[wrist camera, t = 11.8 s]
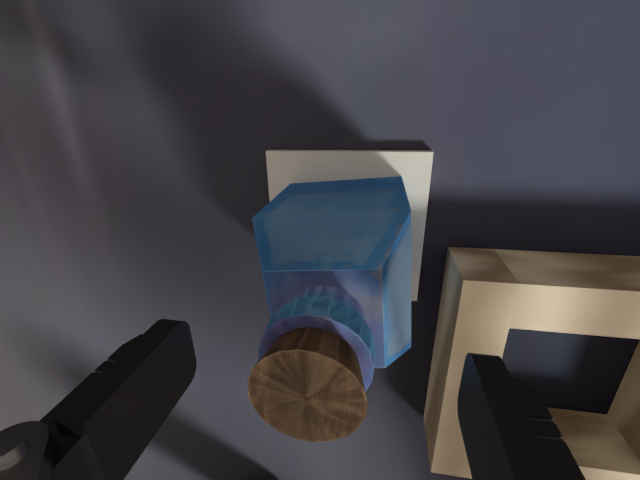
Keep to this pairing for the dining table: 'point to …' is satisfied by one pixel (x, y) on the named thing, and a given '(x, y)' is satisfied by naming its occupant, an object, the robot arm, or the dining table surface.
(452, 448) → the pocket block
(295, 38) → the dining table surface
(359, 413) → the perfume bottle
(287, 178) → the coaster
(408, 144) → the dining table surface
